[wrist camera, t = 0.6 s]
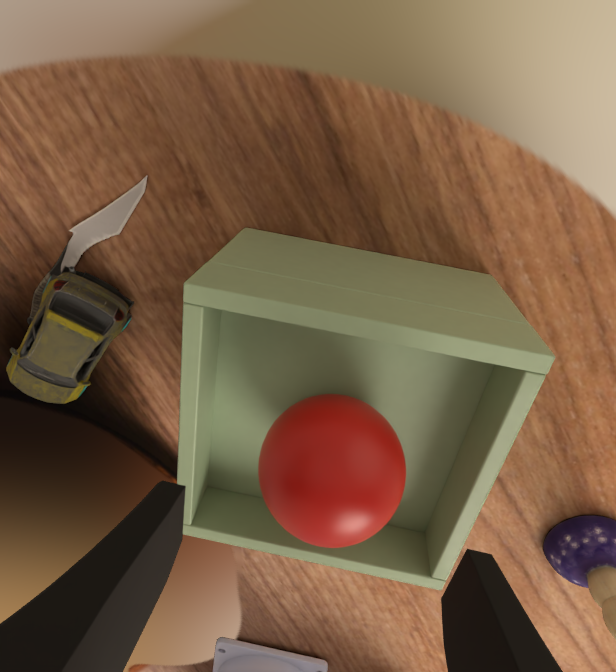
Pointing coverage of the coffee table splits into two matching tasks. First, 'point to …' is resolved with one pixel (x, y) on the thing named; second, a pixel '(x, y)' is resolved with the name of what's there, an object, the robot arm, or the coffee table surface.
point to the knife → (92, 235)
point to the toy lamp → (587, 559)
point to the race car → (68, 336)
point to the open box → (351, 389)
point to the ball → (332, 470)
